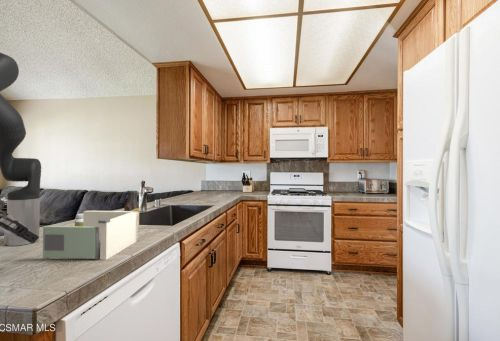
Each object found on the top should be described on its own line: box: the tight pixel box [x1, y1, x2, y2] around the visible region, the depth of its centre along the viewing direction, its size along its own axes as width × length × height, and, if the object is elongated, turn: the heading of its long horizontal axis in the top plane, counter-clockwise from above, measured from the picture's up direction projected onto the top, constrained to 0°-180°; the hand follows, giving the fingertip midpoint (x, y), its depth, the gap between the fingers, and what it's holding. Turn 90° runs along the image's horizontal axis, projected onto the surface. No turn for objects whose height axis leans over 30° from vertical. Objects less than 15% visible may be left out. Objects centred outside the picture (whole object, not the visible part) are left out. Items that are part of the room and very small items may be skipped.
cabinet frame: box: [83, 210, 139, 261], centre depth 86 cm, size 22×22×13 cm
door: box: [42, 225, 100, 260], centre depth 75 cm, size 18×1×10 cm, turn 89°
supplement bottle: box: [74, 213, 83, 227], centre depth 102 cm, size 5×5×10 cm
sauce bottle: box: [123, 189, 140, 232], centre depth 104 cm, size 6×6×20 cm
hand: (35, 240), depth 68 cm, fingers closed
